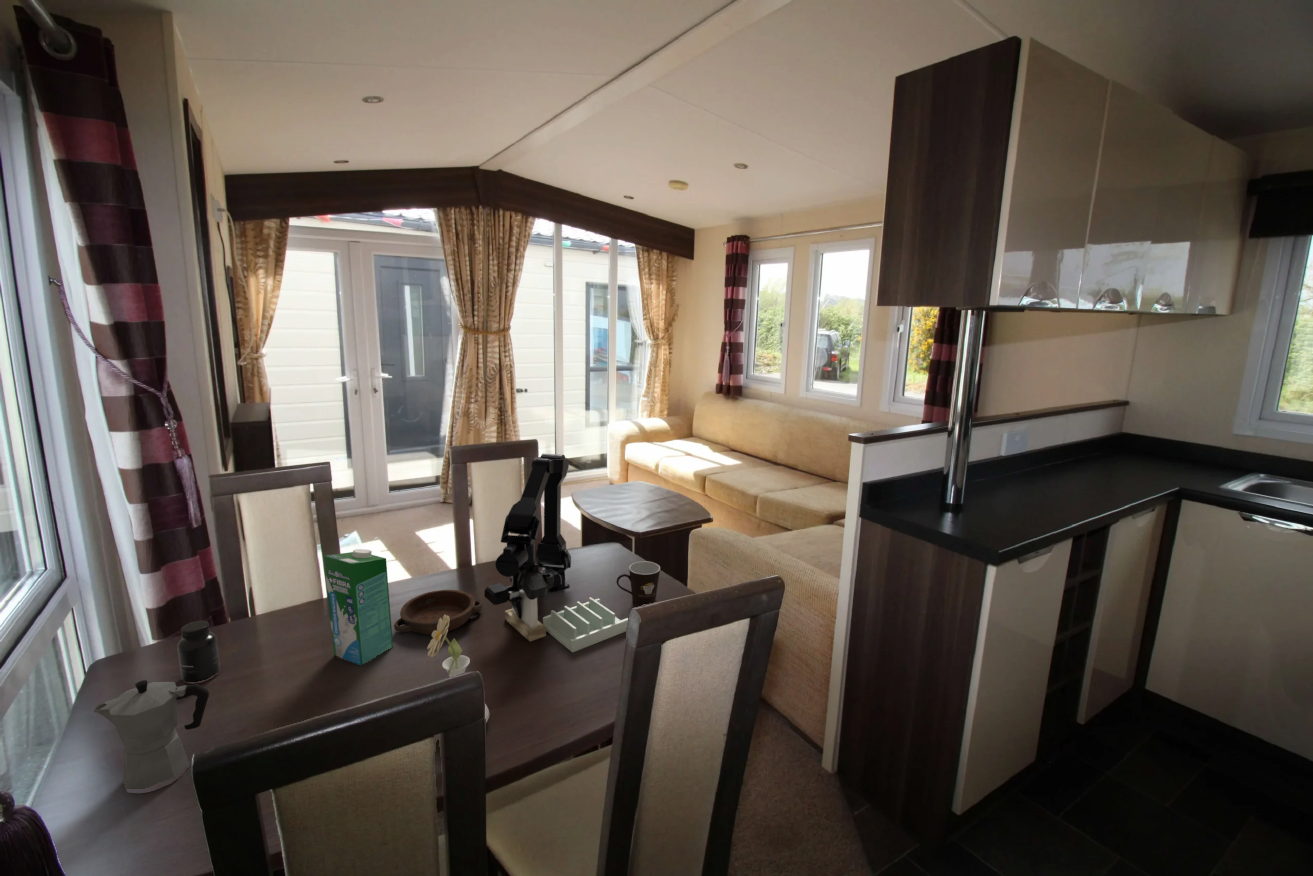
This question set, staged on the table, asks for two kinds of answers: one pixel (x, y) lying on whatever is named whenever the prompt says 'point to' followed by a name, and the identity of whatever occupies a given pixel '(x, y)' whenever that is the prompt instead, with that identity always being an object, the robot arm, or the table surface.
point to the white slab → (528, 611)
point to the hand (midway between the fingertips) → (524, 616)
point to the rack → (583, 624)
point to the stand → (525, 627)
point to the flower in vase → (450, 652)
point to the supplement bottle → (198, 652)
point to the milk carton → (358, 605)
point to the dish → (436, 611)
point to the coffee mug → (642, 582)
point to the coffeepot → (152, 730)
